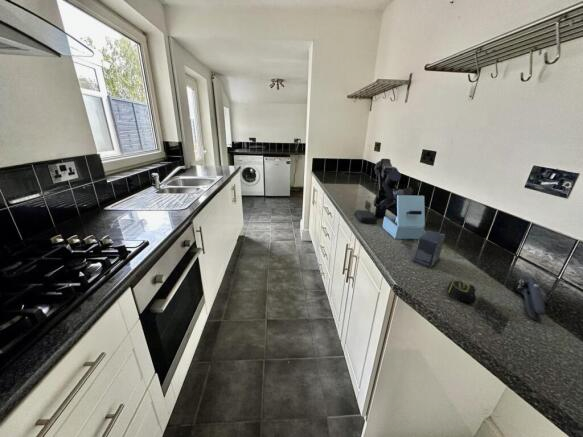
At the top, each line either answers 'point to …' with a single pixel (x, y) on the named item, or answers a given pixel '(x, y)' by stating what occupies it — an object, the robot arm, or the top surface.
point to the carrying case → (365, 216)
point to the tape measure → (462, 291)
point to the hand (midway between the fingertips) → (404, 217)
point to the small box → (429, 248)
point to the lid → (410, 211)
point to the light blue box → (401, 229)
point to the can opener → (532, 297)
